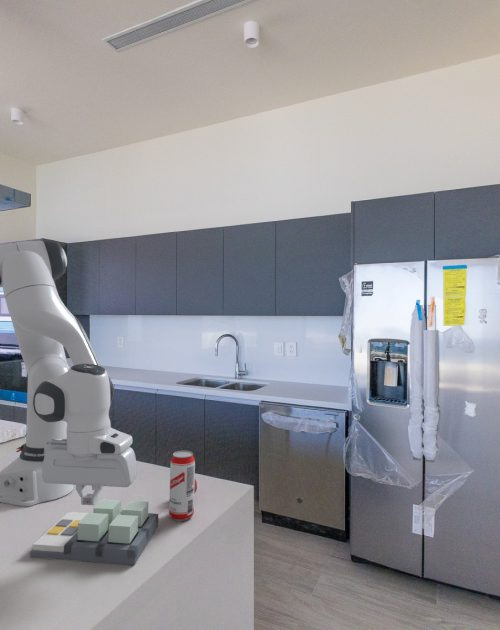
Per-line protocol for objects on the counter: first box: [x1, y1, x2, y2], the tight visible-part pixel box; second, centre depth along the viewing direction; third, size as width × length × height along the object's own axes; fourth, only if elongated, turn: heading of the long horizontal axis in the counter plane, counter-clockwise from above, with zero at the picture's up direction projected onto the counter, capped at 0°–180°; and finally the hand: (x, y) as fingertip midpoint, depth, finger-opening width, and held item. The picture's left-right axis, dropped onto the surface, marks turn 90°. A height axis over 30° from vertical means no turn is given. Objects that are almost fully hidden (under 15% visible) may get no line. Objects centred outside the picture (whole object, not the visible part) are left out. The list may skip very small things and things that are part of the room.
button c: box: [108, 515, 138, 544], centre depth 84 cm, size 5×5×4 cm
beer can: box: [168, 449, 196, 522], centre depth 100 cm, size 6×6×16 cm
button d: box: [121, 500, 149, 526], centre depth 91 cm, size 5×5×4 cm
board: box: [29, 511, 159, 566], centre depth 88 cm, size 23×15×3 cm
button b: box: [92, 498, 122, 524], centre depth 92 cm, size 5×5×4 cm
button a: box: [78, 512, 108, 541], centre depth 85 cm, size 5×5×4 cm
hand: (89, 503), depth 84 cm, fingers closed
